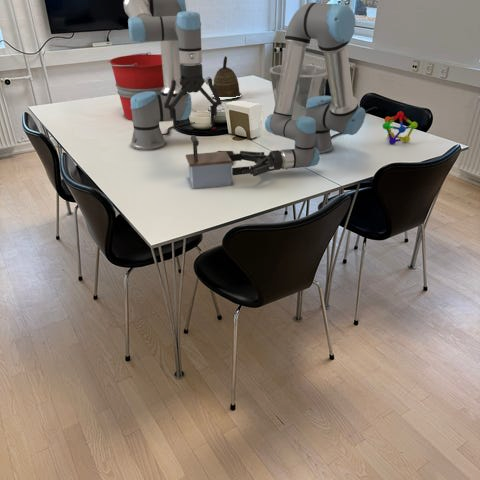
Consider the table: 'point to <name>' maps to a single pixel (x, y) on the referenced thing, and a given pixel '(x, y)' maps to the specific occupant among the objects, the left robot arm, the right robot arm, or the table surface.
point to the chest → (210, 175)
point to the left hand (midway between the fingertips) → (194, 126)
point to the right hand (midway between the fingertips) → (227, 164)
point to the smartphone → (227, 152)
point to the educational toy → (398, 128)
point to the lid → (206, 156)
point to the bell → (226, 82)
